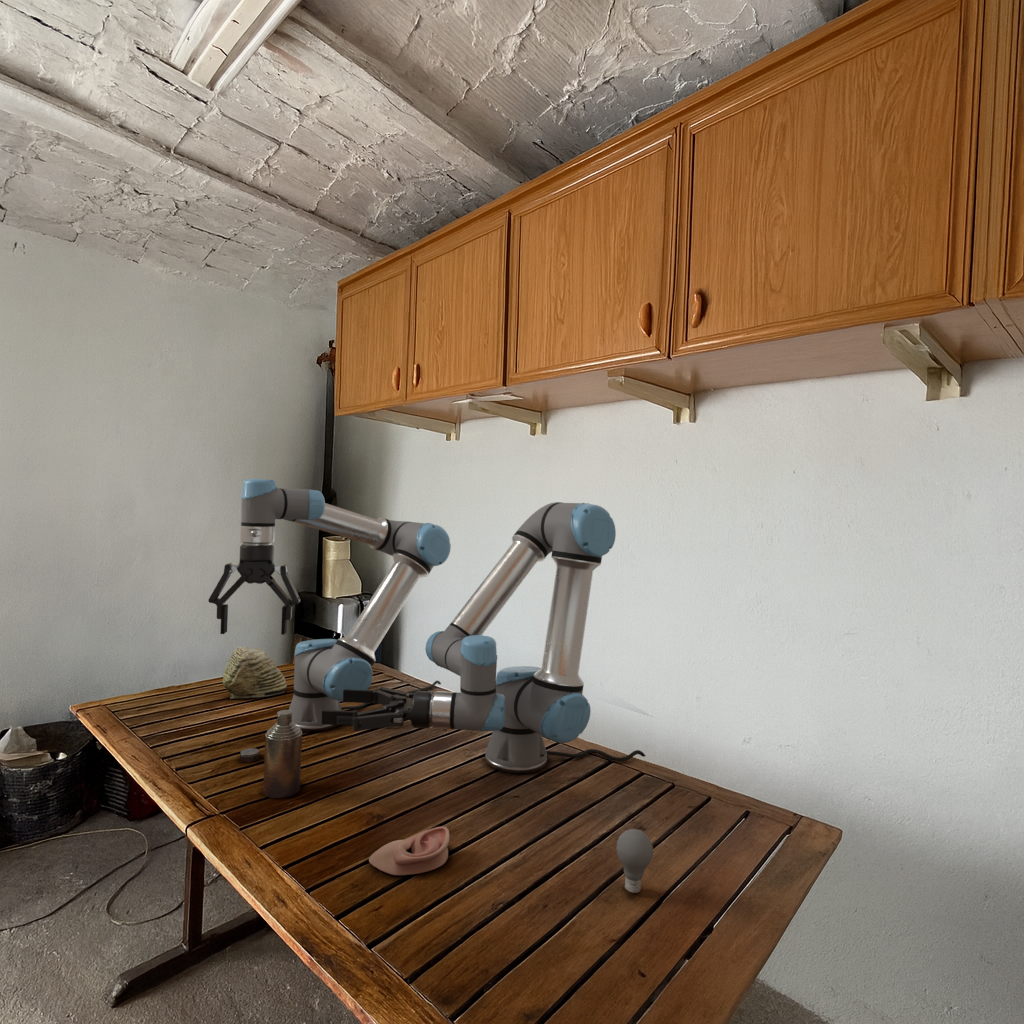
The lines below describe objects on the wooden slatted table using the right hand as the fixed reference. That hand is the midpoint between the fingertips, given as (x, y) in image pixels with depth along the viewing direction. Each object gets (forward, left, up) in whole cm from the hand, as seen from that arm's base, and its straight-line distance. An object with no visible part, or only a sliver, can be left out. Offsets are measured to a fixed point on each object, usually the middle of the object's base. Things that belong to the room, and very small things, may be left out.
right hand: (333, 705), depth 135 cm
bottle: (+10, -5, -19) cm, 22 cm away
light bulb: (-44, +50, -19) cm, 69 cm away
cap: (+16, -23, -17) cm, 33 cm away
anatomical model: (-11, +29, -19) cm, 36 cm away
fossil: (+15, -74, -19) cm, 78 cm away
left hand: (+16, -23, +11) cm, 31 cm away
